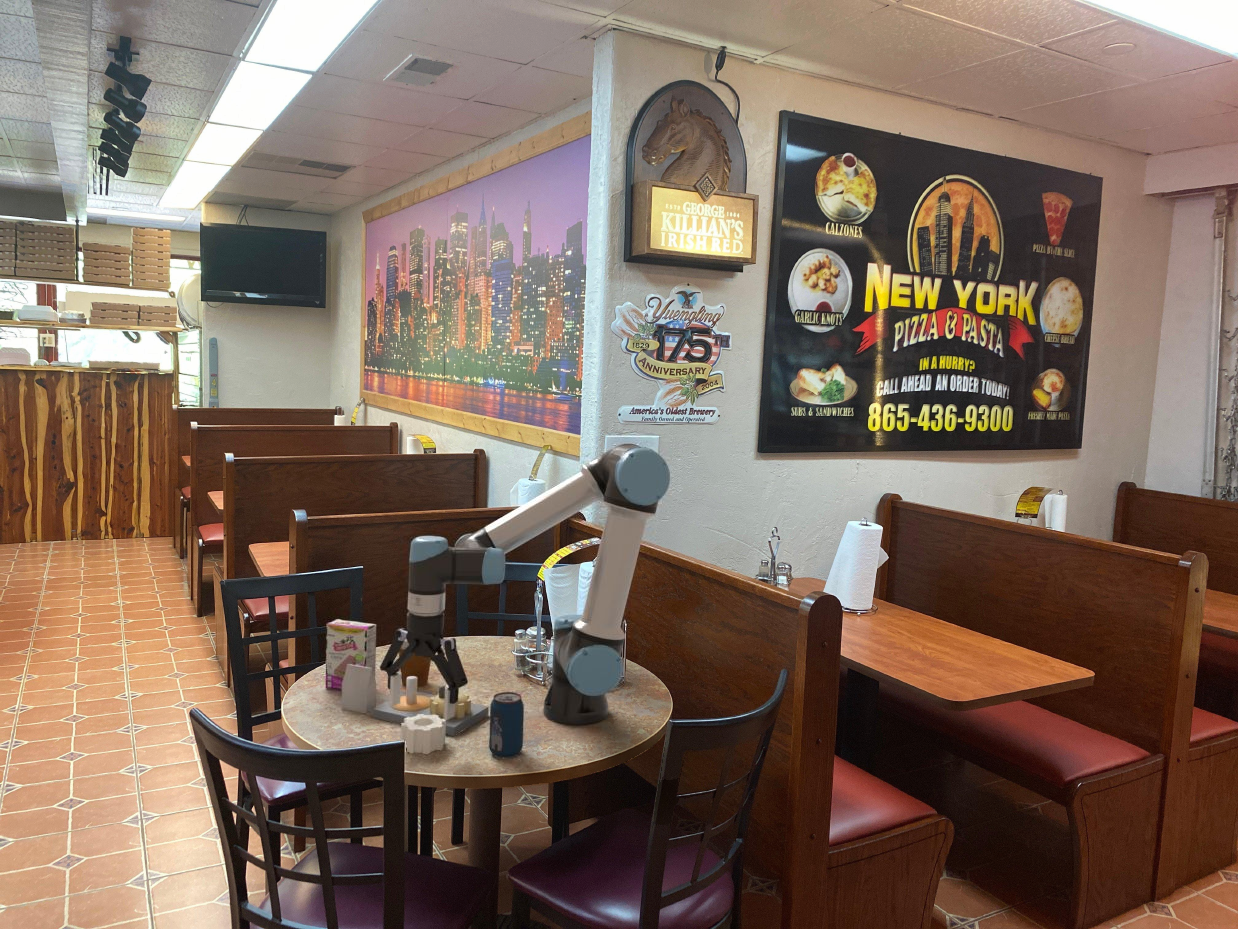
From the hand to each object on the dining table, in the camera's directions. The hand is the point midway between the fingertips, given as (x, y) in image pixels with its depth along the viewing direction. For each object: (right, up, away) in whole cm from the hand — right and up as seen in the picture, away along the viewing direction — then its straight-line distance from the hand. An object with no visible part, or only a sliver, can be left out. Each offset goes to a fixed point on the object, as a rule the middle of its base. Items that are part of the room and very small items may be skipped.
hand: (421, 711), depth 184 cm
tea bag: (-19, -5, +20) cm, 28 cm away
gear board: (-2, -6, +17) cm, 18 cm away
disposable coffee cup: (-10, -4, +38) cm, 39 cm away
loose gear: (0, -7, +1) cm, 7 cm away
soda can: (+18, -9, -1) cm, 20 cm away
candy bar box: (-25, -4, +32) cm, 40 cm away
